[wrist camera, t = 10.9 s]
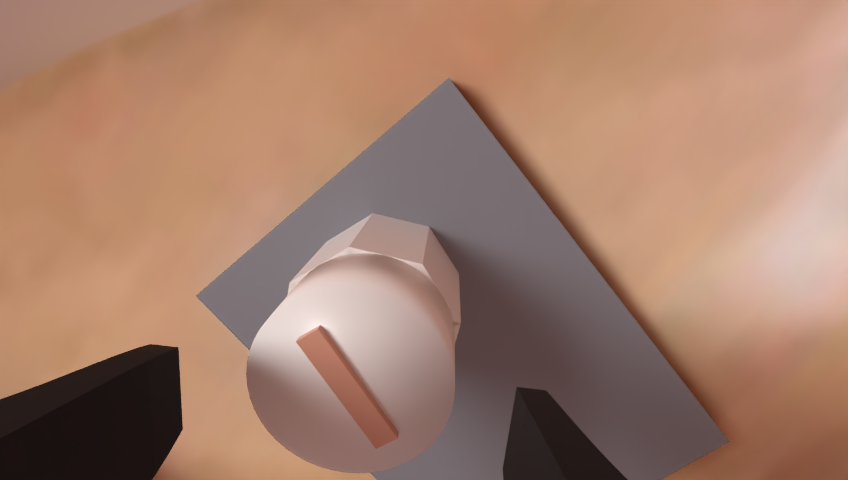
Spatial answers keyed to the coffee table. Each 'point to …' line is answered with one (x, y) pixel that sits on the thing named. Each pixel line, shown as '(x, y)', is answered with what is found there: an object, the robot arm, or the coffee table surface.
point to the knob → (361, 349)
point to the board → (490, 301)
